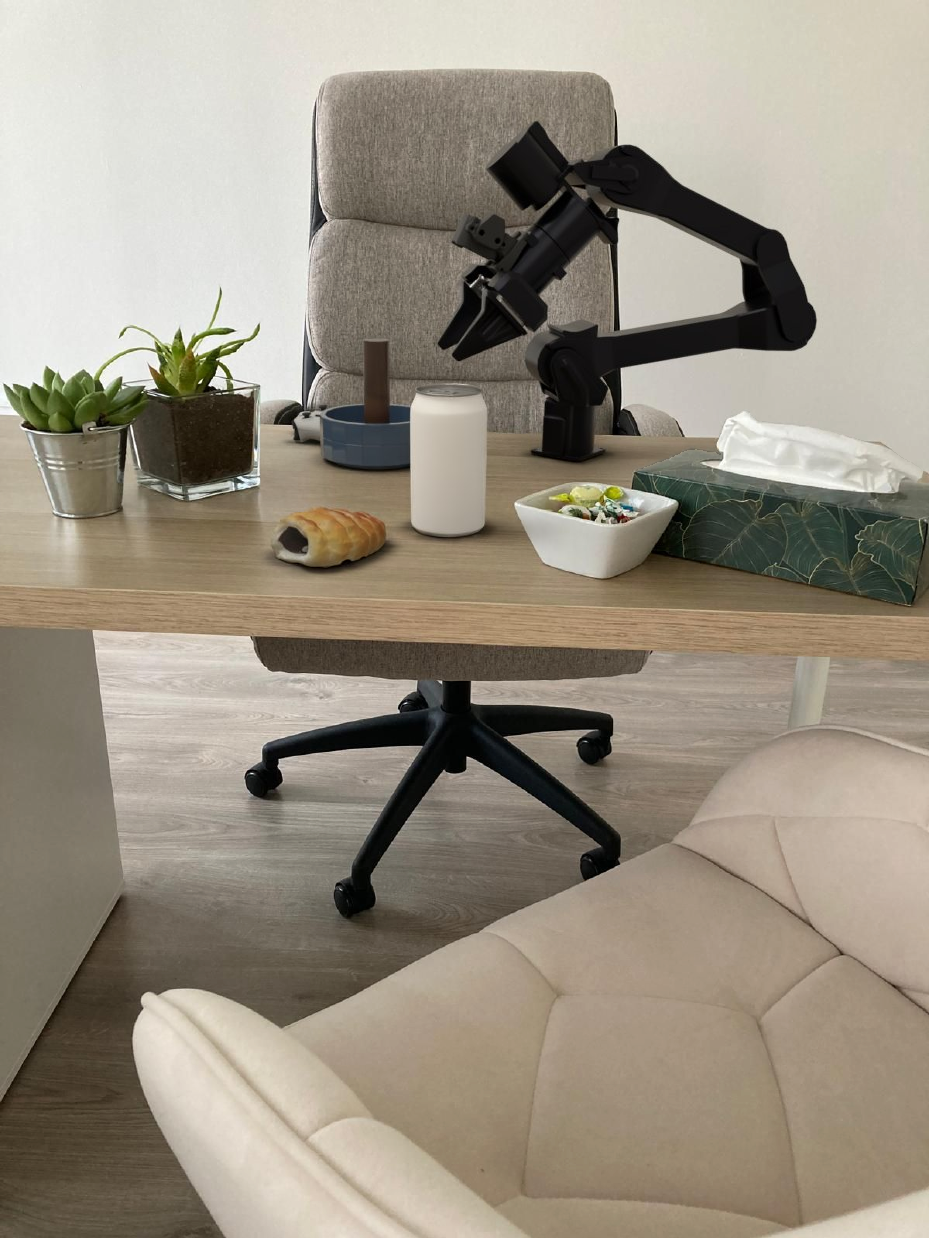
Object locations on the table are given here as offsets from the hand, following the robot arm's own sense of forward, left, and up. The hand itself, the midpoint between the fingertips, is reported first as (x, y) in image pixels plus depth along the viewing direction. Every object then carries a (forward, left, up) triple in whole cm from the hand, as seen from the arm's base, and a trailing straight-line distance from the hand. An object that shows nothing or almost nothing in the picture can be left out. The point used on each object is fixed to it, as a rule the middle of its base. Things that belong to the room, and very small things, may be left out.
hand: (446, 352), depth 111 cm
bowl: (+6, -5, -11) cm, 14 cm away
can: (+22, +17, -12) cm, 30 cm away
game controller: (+2, -17, -12) cm, 21 cm away
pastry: (+34, +14, -12) cm, 38 cm away
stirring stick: (+6, -5, -11) cm, 13 cm away
